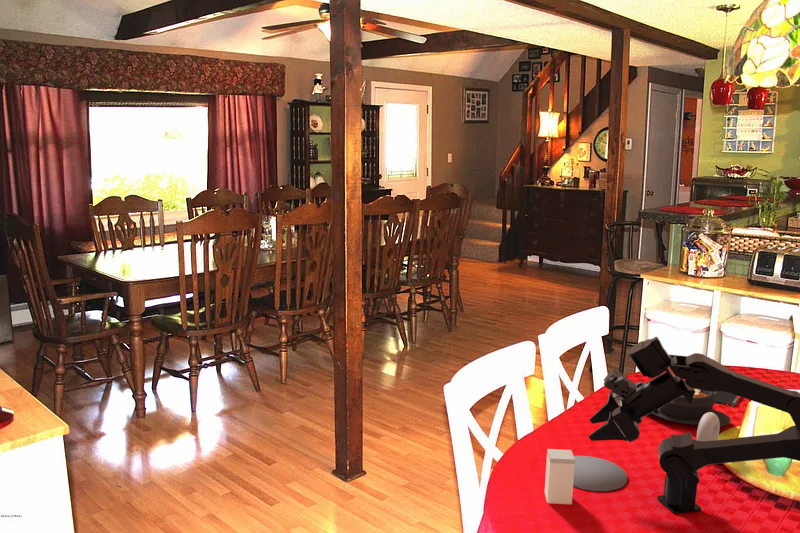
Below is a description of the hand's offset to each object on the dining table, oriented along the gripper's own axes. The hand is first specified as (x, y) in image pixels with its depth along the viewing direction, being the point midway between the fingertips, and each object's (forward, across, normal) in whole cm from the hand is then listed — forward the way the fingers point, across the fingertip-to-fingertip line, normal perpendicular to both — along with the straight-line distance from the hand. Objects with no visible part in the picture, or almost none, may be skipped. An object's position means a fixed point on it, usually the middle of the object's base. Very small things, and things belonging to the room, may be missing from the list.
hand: (590, 429), depth 152 cm
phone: (-22, -73, +36) cm, 84 cm away
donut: (-13, -30, +28) cm, 43 cm away
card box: (+13, +5, +8) cm, 16 cm away
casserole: (-10, -51, +26) cm, 59 cm away
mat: (+8, -8, +12) cm, 16 cm away
